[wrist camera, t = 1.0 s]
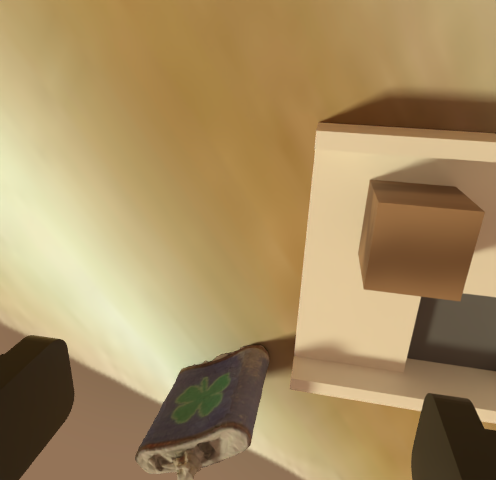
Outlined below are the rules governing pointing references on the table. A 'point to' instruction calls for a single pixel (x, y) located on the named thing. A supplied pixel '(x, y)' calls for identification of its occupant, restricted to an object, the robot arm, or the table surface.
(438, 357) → the track
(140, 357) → the table surface
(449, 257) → the walnut block
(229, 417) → the flask
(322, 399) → the table surface
